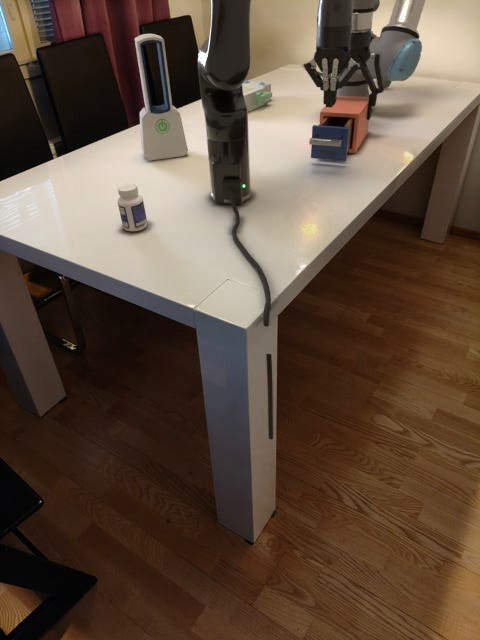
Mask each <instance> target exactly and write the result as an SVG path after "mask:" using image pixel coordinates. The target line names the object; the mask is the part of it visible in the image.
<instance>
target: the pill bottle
mask: <svg viewBox="0 0 480 640" xmlns="http://www.w3.org/2000/svg"><path fill="white" fill-rule="evenodd" d="M117 193H118V196H119V197H118V199H117V206H118V210H119V211H118V212H119V215H120V219H121V224H122V227H123V229H124V230H125V231H128V232H138V231H141V230H144V229H146V227H147V226H148V217H147V214H146V208H145V203H144V198H143V196H142V195H141V194H139V188H138V185H137V184H135V183H132V182H131V183H123V184H121V185H119V186H118V187H117Z"/></svg>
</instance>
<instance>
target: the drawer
mask: <svg viewBox="0 0 480 640" xmlns="http://www.w3.org/2000/svg"><path fill="white" fill-rule="evenodd" d="M319 123H320V122H319ZM319 123H318V124H313V125H312V126H311V137H310V138H309V143H308V144H309V145H310V159H315V160H316V159H318V160H327V161H339V162H346V161H347V159H348V152H347V151H348V150H349V148H350V147H351V145H352V143H353V133H354V123H355V118H347V117H331V116H326V117H325V119H324V120H323V121H322V122H321V123H320V124H319Z"/></svg>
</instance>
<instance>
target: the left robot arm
mask: <svg viewBox="0 0 480 640" xmlns="http://www.w3.org/2000/svg"><path fill="white" fill-rule="evenodd" d="M210 2H211V18H210V19H211V20H210V31H209V37H207V38H206V39H205V40H204V41H203V42H202V43H201V45H200V47H199V50H198V54H197V72H198V81H199V92H200V99H201V107H202V110H203V113H204V122H205V132H206V144H207V155H208V166H209V167H208V168H209V179H210V189H211V192H210V195H211V200H212V201H214V203H215V204H216V205H231V207H232V210H233V212H234V215H235V222H234V223H235V224H234V225H233V227H232V229H231V235H232V238H233V241H234V242H235V244H236V245H237V246H238V248H239V249H240V251H241V252H242V253H243V256H245V258H246V259H247V260H248V261H249V262H250V264H251V265H253V267H254V269H256V271H257V273H258V274H259V277H260V279H261V281H262V285H263V289H264V294H265V295H264V296H265V304H264V308H263V317H262V318H263V320H262V321H263V326H264V327H269V325H270V308H271V304H272V297H271V290H270V285H269V282H268V278H267V277H266V275H265V273H264V271H263V269H262V268H261V265H260V264H259V263H258V262H257V261H256V260H255V259H254V257H253V256H252V255H251V254H250V253H249V251H248V250H247V248H246V247H245V246H244V244H243V243H242V242H241V241H240V239H239V237H238V235H237V229H238V227H239V225H240V222H241V220H240V219H241V217H240V212H239V210H238V207H237V205H242V204H243V202H246V201H248V200H250V198H251V196H252V189H251V165H250V162H251V161H250V138H249V135H250V134H249V112H248V109H247V105H246V102H245V99H244V95H243V88H242V84H243V83H244V81H245V80H247V78H248V76H249V72H250V68H251V25H250V24H251V21H250V20H251V5H252V4H251V3H252V0H210ZM352 17H353V0H318V7H317V16H316V41H315V43H316V44H315V51H314V54H313V57H312V59H311V60H309V61H308V62H306V63H305V66H304V65H303V66H304V69H305V71H306V72H307V74H308V76H309V77H310V78H311V80H312V82H313V83H314V85H315V86H316V87H317V88H319V89H320V88H322V89H323V90H324V91H323V90H322V91H323V99H322V100H323V101H322V103H323V105H324V106H326V107H333V105H334V104H335V103H336V99H337V89H339V88H342V87H343V86H344V85H345V84H346V83H347V82H348V80H349V79H350V78H351V77H352V76H353V74H354V73H355V72H356V71H357V69H358V68H359V67H360V64H359V63H356V62H355V61H354V60H353V59H352V54H351V51H350V42H351V29H352ZM348 63H349V66H348V71H349V72H348V73H347V74H346V75H345V77H344V78H343V79H342V80H341V81H340V82H338V81H339V76H340V72H342V70H343V69H344V68H345V66H346V65H347V64H348ZM317 67H318V70H320V71H318V70H317ZM317 71H318V72H320V73H323V76H322V75H320V74H319V73H318V72H317ZM265 357H266V358H265V359H266V380H267V381H266V383H267V424H268V425H267V426H268V440H270V441H271V440H273V439H274V390H273V389H274V388H273V387H274V386H273V385H274V384H273V361H272V360H273V358H272V354H271V353H266V354H265Z"/></svg>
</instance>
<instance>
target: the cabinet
mask: <svg viewBox="0 0 480 640" xmlns="http://www.w3.org/2000/svg"><path fill="white" fill-rule="evenodd" d="M368 101H369V97H357V96H337V99H336V103H335V104H334V105H333V107H326V105H324V107H323V108H322V109H321V110H320V111H319V123H318V125H319V124H320V123H321V122H322V121H323V120H324V119H325V117H326V116H331V117H347V118H355V123H354V133H353V143H352V145H351V147H350V148H349V150H348V151H347V154H348V153H349V154H356V153H357V151H358V150H359V149H360V146H361V144H362V143H363V141H364V140H365V138H366V136H368V133H369V126H370V125H369V124H370V119H369V120H367V111H368Z"/></svg>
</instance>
